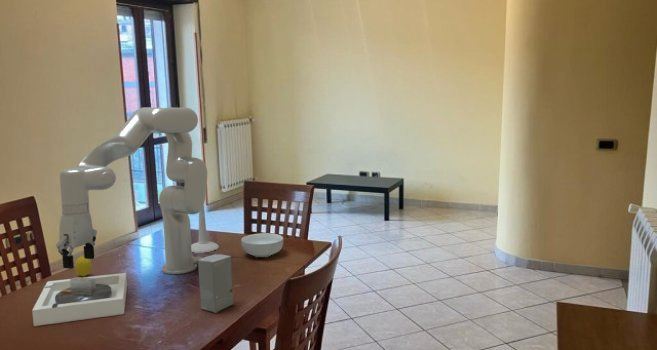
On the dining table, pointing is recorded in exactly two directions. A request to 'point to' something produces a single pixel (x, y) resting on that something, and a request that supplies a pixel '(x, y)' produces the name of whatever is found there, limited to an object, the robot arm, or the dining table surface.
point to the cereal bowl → (262, 244)
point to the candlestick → (203, 237)
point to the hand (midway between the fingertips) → (79, 263)
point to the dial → (83, 291)
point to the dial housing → (57, 313)
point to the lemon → (83, 266)
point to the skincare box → (215, 282)
